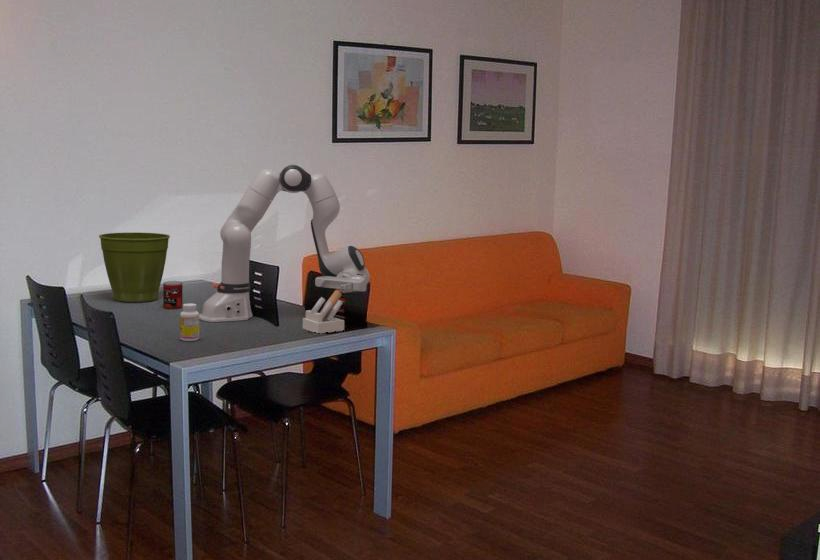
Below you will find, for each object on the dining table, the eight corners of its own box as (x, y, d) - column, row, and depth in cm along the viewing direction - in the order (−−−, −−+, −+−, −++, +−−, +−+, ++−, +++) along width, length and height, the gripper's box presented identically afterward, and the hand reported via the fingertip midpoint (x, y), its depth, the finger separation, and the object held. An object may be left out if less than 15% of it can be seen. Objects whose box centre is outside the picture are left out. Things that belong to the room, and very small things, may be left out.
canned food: (159, 308, 362) (159, 282, 360) (171, 305, 369) (171, 280, 367) (174, 310, 359) (174, 284, 357) (186, 307, 366) (186, 282, 364)
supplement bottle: (181, 337, 309) (181, 302, 307) (200, 337, 310) (200, 303, 308) (178, 341, 303) (178, 305, 301) (197, 341, 303) (197, 306, 301)
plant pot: (181, 302, 378) (180, 237, 373) (114, 307, 359) (113, 239, 355) (154, 291, 400) (153, 231, 396) (90, 296, 382) (89, 232, 377)
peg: (320, 314, 329) (338, 290, 333) (316, 314, 331) (333, 290, 336) (326, 319, 330) (343, 295, 335) (322, 319, 333) (338, 295, 337)
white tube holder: (318, 333, 324) (318, 300, 322) (302, 328, 332) (303, 296, 330) (347, 330, 333) (348, 297, 331) (331, 324, 341) (332, 293, 339)
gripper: (323, 271, 347) (308, 275, 334) (370, 275, 340) (355, 280, 327) (323, 286, 348) (307, 291, 335) (369, 291, 341) (355, 296, 328)
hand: (332, 286), depth 331 cm, fingers open, 8 cm apart
